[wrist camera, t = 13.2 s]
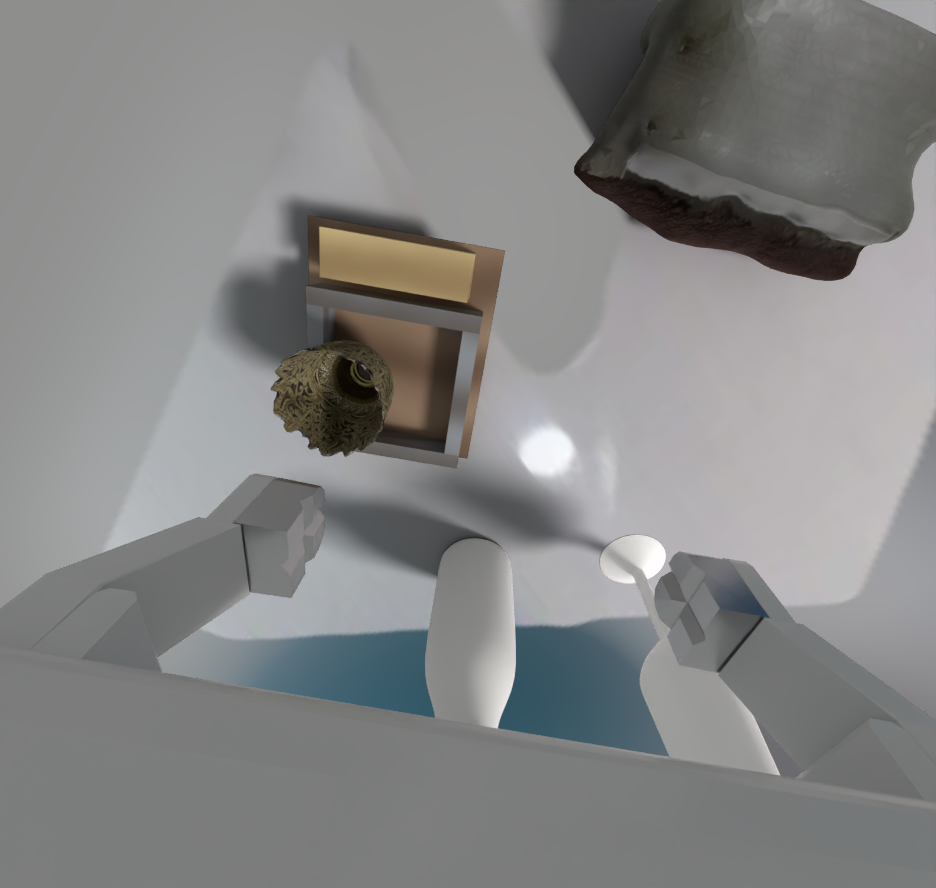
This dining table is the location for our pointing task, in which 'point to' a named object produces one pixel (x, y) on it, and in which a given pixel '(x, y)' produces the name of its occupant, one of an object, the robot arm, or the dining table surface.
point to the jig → (408, 326)
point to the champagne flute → (686, 680)
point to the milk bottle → (472, 634)
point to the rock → (772, 129)
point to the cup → (334, 396)
